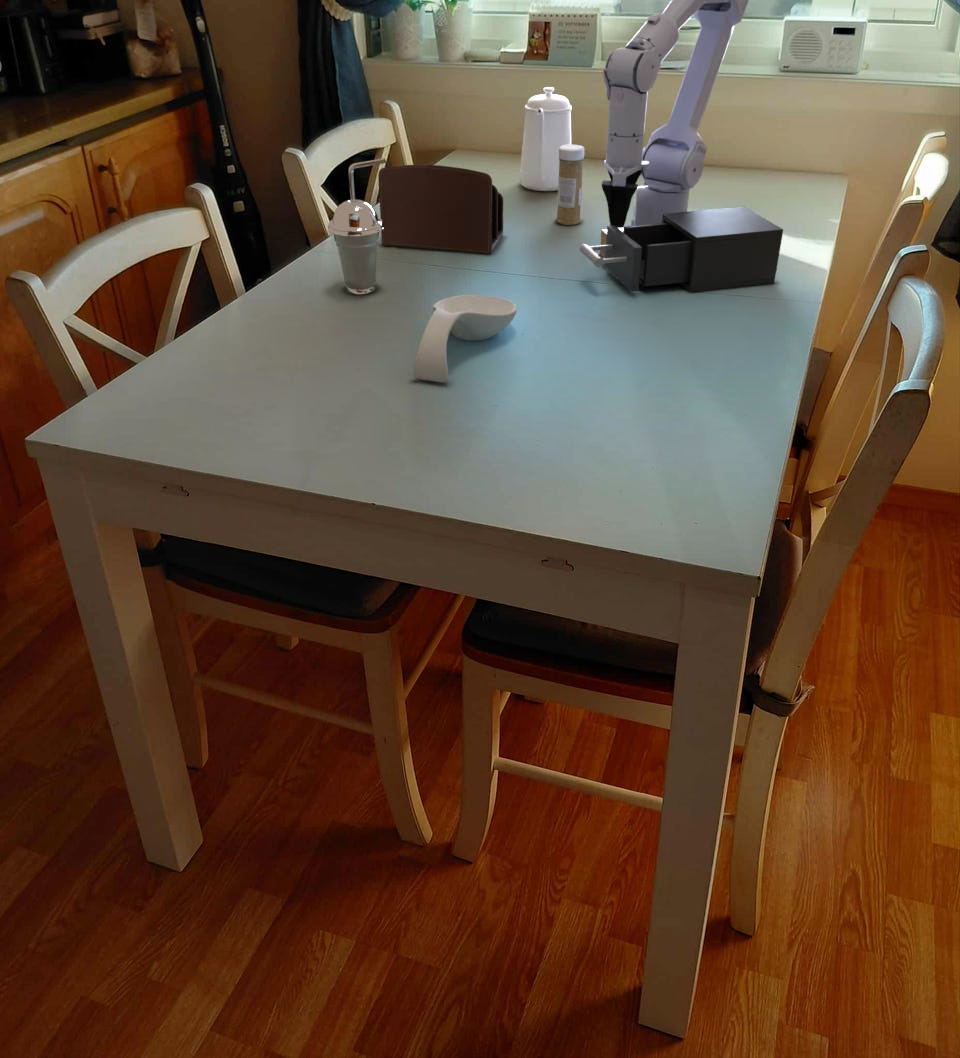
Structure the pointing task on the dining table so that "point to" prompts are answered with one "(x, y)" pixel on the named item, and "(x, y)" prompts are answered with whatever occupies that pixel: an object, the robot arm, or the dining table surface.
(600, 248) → the dark grey drawer
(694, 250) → the black drawer cabinet
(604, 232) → the block
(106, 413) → the dining table surface
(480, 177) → the letter holder
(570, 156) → the spice jar
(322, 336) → the dining table surface
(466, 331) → the spoon rest
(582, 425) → the dining table surface
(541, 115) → the coffeepot
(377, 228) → the cup with straw
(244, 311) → the dining table surface
